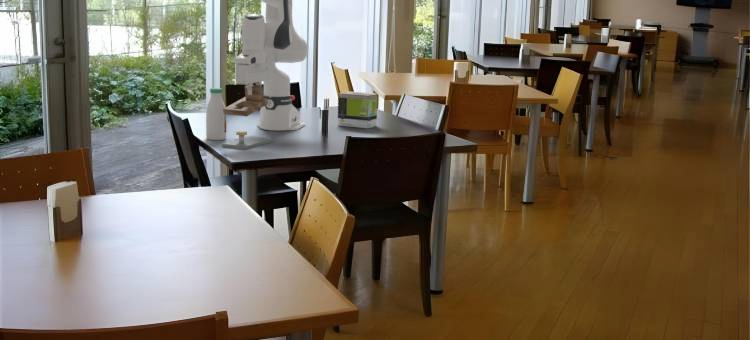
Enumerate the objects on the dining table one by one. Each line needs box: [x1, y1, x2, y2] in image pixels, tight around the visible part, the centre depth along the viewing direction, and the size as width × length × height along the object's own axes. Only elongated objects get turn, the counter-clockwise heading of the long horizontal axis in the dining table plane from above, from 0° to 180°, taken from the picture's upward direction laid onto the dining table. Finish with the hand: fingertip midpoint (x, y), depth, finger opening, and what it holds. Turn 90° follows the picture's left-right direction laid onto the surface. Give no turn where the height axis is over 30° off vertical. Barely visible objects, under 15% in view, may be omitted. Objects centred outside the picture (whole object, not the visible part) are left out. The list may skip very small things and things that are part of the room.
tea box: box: [337, 91, 378, 129], centre depth 378 cm, size 15×10×15 cm, turn 65°
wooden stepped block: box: [223, 84, 268, 117], centre depth 322 cm, size 16×10×7 cm, turn 157°
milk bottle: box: [205, 87, 227, 141], centre depth 335 cm, size 8×8×20 cm
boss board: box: [221, 130, 273, 150], centre depth 328 cm, size 20×10×5 cm, turn 157°
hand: (253, 94), depth 327 cm, fingers closed on wooden stepped block, 3 cm apart
